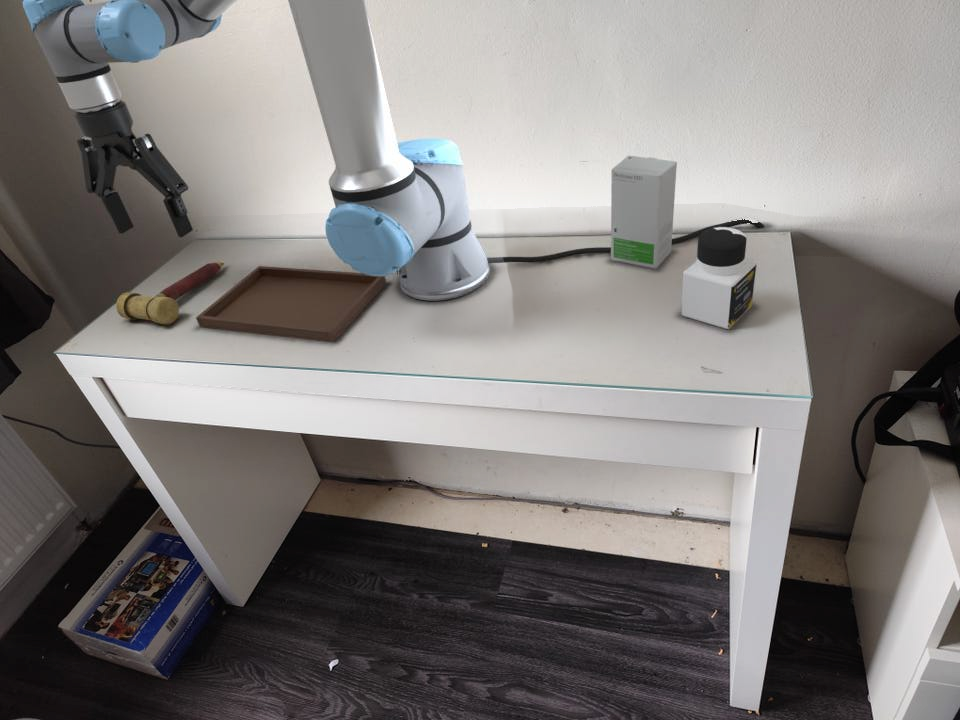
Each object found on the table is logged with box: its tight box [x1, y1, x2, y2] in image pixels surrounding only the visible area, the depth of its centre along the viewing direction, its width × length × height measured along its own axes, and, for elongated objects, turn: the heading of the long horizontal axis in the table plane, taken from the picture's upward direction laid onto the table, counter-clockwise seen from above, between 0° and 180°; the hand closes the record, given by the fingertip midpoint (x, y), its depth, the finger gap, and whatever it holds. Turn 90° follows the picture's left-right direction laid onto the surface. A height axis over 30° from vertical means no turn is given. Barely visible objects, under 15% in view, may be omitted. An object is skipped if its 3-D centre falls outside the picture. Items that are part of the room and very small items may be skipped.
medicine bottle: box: [681, 227, 757, 330], centre depth 91 cm, size 7×7×12 cm
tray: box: [195, 265, 388, 343], centre depth 113 cm, size 27×18×2 cm, turn 69°
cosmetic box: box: [610, 155, 678, 270], centre depth 105 cm, size 8×7×16 cm
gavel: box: [115, 260, 225, 325], centre depth 121 cm, size 21×5×10 cm
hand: (155, 232), depth 115 cm, fingers open, 13 cm apart
